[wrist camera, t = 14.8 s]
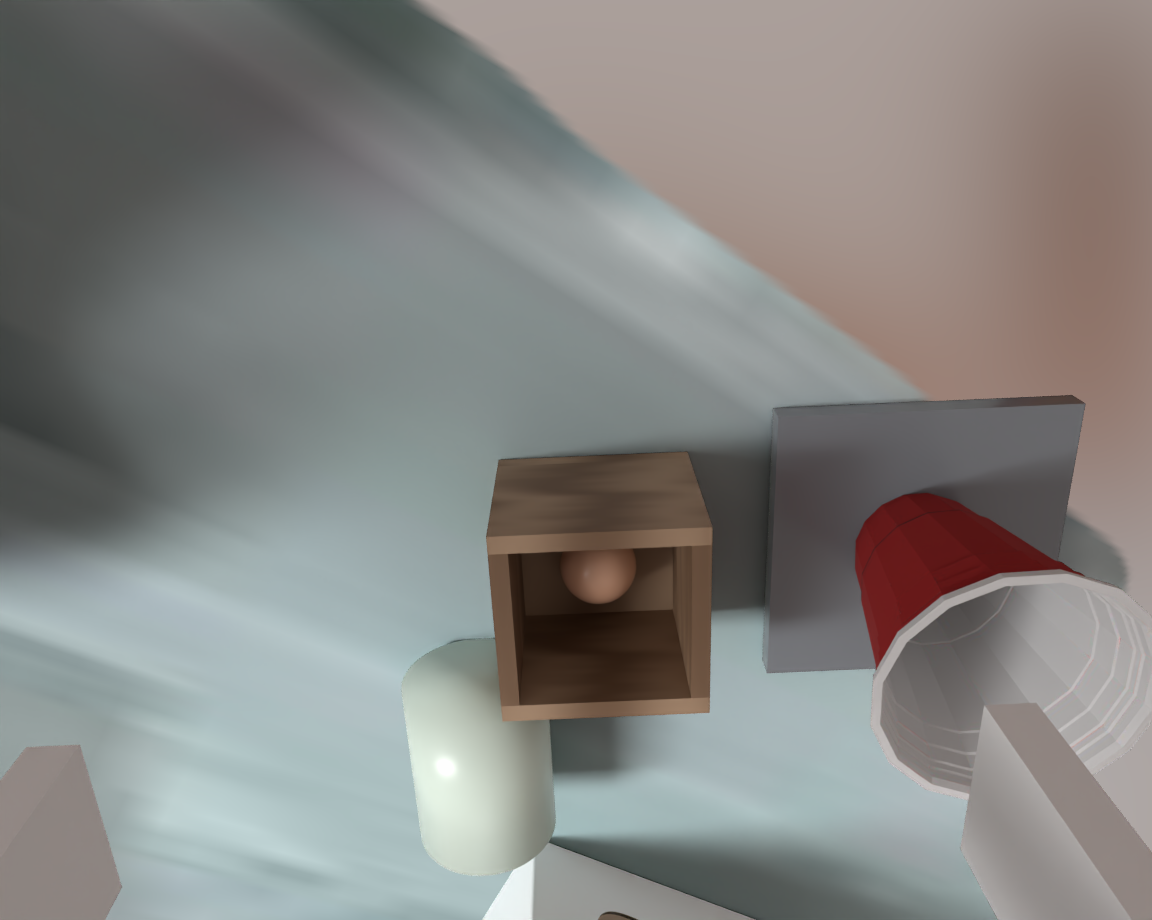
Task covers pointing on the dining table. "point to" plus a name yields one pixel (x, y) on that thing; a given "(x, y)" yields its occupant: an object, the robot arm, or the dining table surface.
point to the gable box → (592, 893)
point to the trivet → (885, 472)
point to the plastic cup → (991, 641)
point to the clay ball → (598, 573)
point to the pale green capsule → (475, 764)
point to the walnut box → (612, 630)
